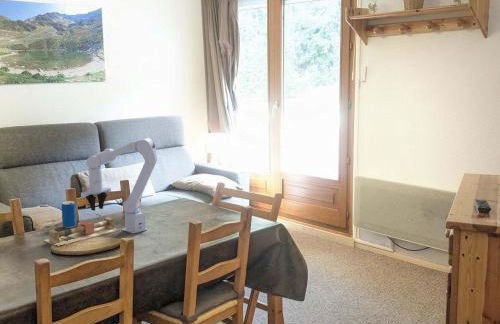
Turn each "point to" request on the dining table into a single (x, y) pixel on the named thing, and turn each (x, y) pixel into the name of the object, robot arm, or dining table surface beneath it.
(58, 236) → the rod rig
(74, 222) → the beverage can
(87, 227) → the salmon red block
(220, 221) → the dining table surface
